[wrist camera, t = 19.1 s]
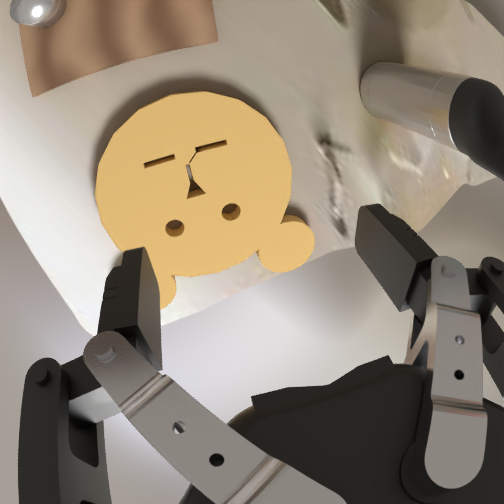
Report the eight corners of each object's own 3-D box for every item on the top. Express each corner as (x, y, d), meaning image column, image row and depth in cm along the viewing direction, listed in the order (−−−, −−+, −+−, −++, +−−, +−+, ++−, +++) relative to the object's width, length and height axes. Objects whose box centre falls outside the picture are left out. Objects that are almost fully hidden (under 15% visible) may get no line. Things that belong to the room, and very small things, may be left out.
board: (200, -58, 22) (201, -62, 21) (216, 42, 31) (218, 41, 30) (20, -4, 19) (16, -6, 18) (36, 96, 28) (32, 97, 27)
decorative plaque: (55, 135, 32) (131, 307, 49) (48, 139, 30) (131, 318, 47) (290, 70, 36) (309, 254, 53) (298, 71, 34) (315, 262, 51)
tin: (62, -16, 20) (47, -28, 15) (70, 15, 23) (56, 7, 18) (25, 4, 19) (6, -3, 15) (33, 35, 22) (14, 32, 18)
